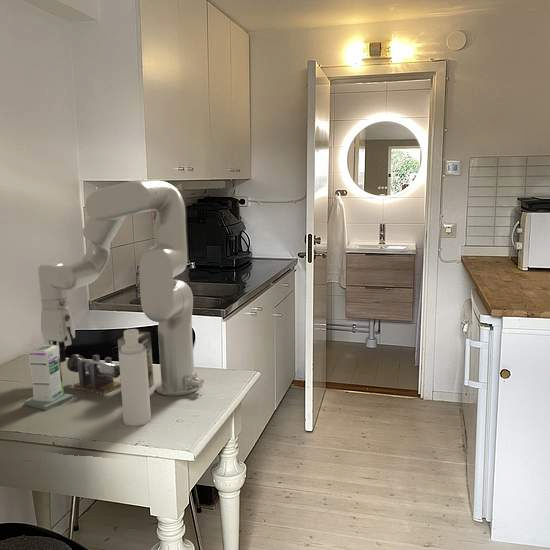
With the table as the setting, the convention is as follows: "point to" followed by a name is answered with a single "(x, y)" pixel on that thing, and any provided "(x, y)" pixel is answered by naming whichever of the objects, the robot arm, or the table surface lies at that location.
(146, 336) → the coffee box
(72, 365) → the shaft
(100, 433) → the table surface
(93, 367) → the bracket
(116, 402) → the table surface
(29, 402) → the grey-green square pad
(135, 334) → the spray bottle
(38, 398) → the syrup box
